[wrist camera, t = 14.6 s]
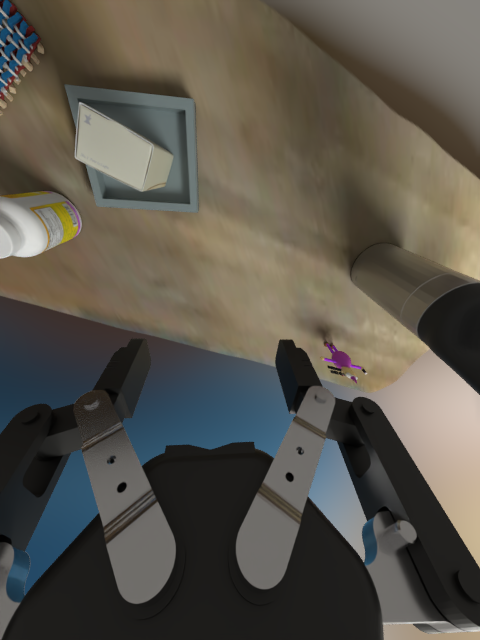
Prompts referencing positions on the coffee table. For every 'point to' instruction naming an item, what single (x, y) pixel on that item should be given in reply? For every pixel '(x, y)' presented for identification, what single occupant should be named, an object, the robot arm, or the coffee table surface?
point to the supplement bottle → (36, 223)
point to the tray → (161, 128)
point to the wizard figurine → (342, 363)
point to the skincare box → (120, 151)
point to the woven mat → (15, 48)
